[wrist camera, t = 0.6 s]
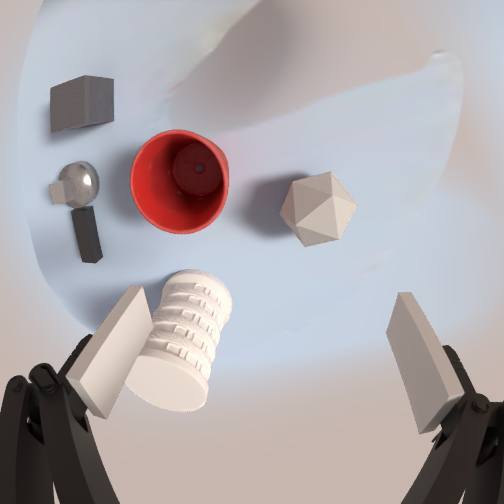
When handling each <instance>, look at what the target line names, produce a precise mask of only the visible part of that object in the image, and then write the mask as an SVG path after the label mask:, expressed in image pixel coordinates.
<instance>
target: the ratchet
mask: <svg viewBox="0 0 504 504" xmlns="http://www.w3.org/2000/svg"><path fill="white" fill-rule="evenodd" d="M49 186H50V193H51V199H52V204H64V203H66V204H67V205H69V206H70V207H73V208H76V209H74V210H73V211H71V214H72V219H73V224H74V229H75V233H76V238H77V242H78V246H79V250H80V254H81V258H82V262H85V263H97V262H98V261H99V260H100V259H101V258H102V257H103V255H102V251H101V246H100V241H99V237H98V232H97V226H96V221H95V216H94V210H93V206H84V205H86V204H88V203H90V202H91V201H93V200H94V199H95V197H96V196H97V194H98V191H99V178H98V174H97V172H96V170H95V169H94V167H93V166H92V165H91V164H90V163H88V162H85V161H78V162H75V163H72V164H69V165H67V166H65V167H64V168H63V170H62V171H61V173H60V176H59V181H56V182H54V183H52V184H49ZM82 206H83V207H82Z"/></svg>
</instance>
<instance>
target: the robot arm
mask: <svg viewBox="0 0 504 504" xmlns="http://www.w3.org/2000/svg"><path fill="white" fill-rule="evenodd" d="M153 327H154V325H153V322H152V318H151V315H150V311H149V308H148V304H147V300H146V297H145V293H144V289H143V286H134V285H130V287H129V288H128V289H127V290H126V292H125V293H124V294H123V296H122V297H121V298H120V300H119V301H118V302H117V304H116V305H115V306H114V308H113V309H112V310H111V312H110V313H109V314H108V316H107V317H106V318H105V320H104V321H103V322H102V324H101V325H100V327H99V328H98V329H97V331H96V332H95V334H94V335H91V334H88V335H87V336H86V337H84V338H83V339H82V340H81V341H80V342H79V344H78V345H77V346H76V349H74V351H73V352H72V353H71V354H72V355H70V356H69V358H68V359H67V361H66V362H65V364H64V365H63V367H62V368H61V370H60V371H59V372H58V374H56V372H55V370H54V369H53V367H52V366H51V365H50V364H47V363H41V364H38V365H37V366H35V367H34V368H33V369H32V370H31V371H30V373H29V380H30V381H31V382H32V383H28V381H27V380H26V378H25V377H23V376H21V375H18V376H14V377H13V378H11V379H10V380H9V382H8V384H7V386H6V390H5V394H4V398H3V402H2V407H1V412H0V504H55V503H54V492H53V482H54V486H55V489H56V493H57V496H58V499H59V502H60V504H120V503H119V501H118V499H117V497H116V494H115V492H114V490H113V488H112V485H111V483H110V481H109V478H108V476H107V473H106V471H105V468H104V466H103V463H102V460H101V458H100V455H99V452H98V450H97V446H96V443H95V441H94V437H93V434H92V431H91V427H90V424H89V421H88V417H87V415H86V414H85V412H86V410H87V408H88V409H89V410H90V411H91V413H92V414H93V415H95V416H97V417H100V418H103V419H107V418H108V416H109V414H110V412H111V410H112V407H113V405H114V403H115V401H116V399H117V397H118V395H119V393H120V391H121V389H122V387H123V385H124V383H125V381H126V379H127V377H128V375H129V373H130V371H131V369H132V367H133V365H134V363H135V361H136V359H137V357H138V355H139V353H140V351H141V349H142V347H143V346H144V344H145V342H146V340H147V338H148V336H149V334H150V332H151V330H152V329H153ZM386 334H387V337H388V340H389V342H390V345H391V348H392V351H393V353H394V356H395V359H396V361H397V364H398V367H399V370H400V373H401V376H402V379H403V382H404V385H405V388H406V391H407V394H408V397H409V400H410V403H411V407H412V410H413V414H414V417H415V421H416V424H417V428H418V431H419V434H422V433H427V432H430V431H434V430H435V429H436V428H437V426H438V425H439V424H441V427H442V430H441V431H440V432H439V433H438V434H437V435H436V436H435V437H434V439H433V440H432V442H434V441H435V440H436V441H435V443H434V446H433V448H432V450H431V452H430V454H429V456H428V458H427V460H426V462H425V463H424V465H423V467H422V469H421V471H420V473H419V474H418V476H417V478H416V480H415V481H414V483H413V485H412V486H411V488H410V490H409V491H408V493H407V494H406V496H405V498H404V499H403V501H402V502H401V504H458V503H459V501H460V499H461V497H462V495H463V492H464V490H465V493H464V497H463V502H462V504H504V401H503V402H490V401H489V400H488V398H487V397H486V396H484V395H482V394H479V393H476V392H475V389H474V387H473V385H472V383H471V381H470V379H469V377H468V375H467V373H466V371H465V369H464V368H463V365H462V363H461V362H460V359H459V357H458V355H457V354H456V352H455V351H454V350H453V349H452V348H451V347H450V346H449V345H446V346H442V345H441V343H440V341H439V339H438V338H437V336H436V334H435V332H434V330H433V328H432V327H431V325H430V323H429V322H428V320H427V318H426V316H425V314H424V313H423V311H422V309H421V308H420V306H419V304H418V303H417V301H416V299H415V298H414V296H413V294H412V293H411V292H399V293H398V296H397V300H396V303H395V307H394V310H393V313H392V316H391V319H390V323H389V326H388V328H387V331H386ZM27 418H29V420H28V423H27ZM465 488H466V489H465Z"/></svg>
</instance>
